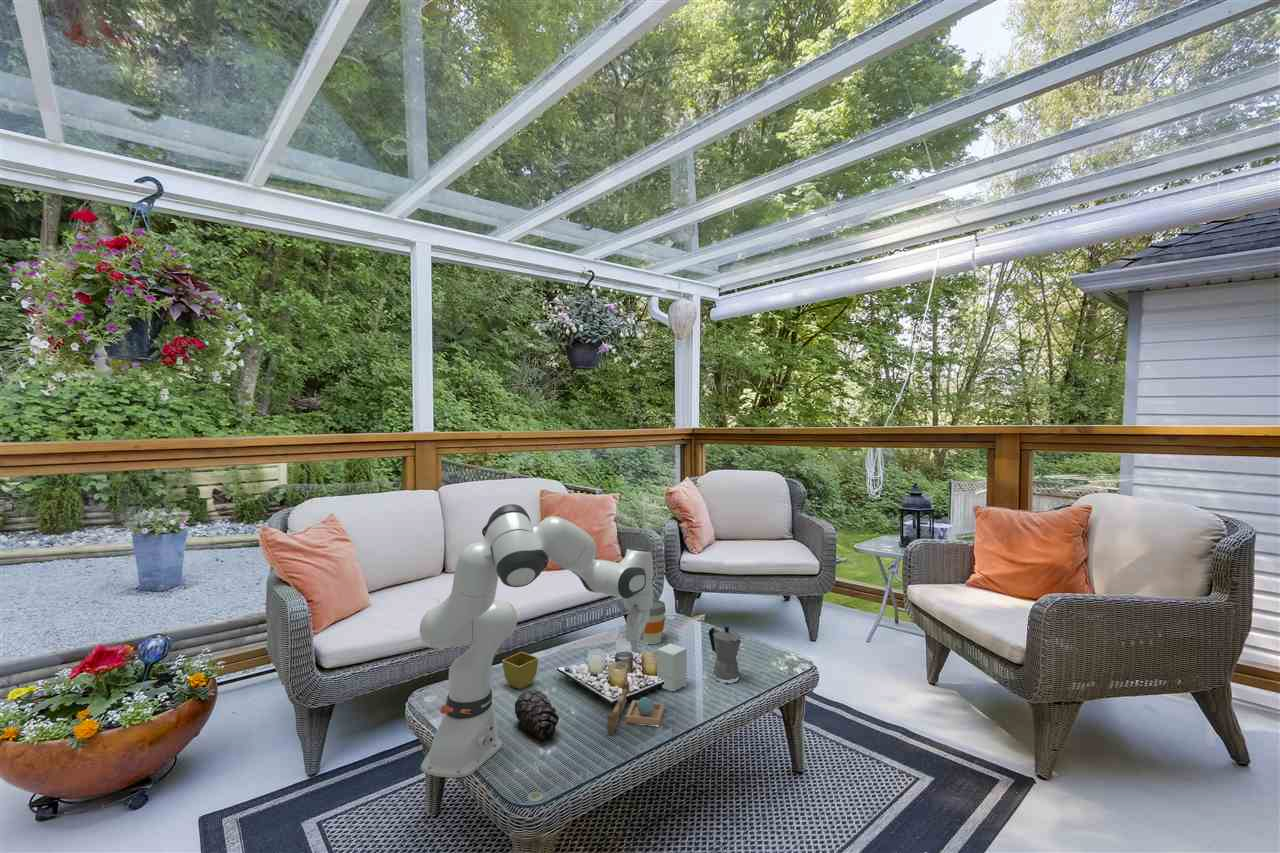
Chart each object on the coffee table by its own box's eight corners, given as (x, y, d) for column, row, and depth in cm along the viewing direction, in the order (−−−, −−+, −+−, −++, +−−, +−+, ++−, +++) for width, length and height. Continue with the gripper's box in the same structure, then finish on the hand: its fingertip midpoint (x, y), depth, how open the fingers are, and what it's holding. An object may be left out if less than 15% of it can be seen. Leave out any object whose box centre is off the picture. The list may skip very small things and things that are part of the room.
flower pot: (518, 694, 193) (519, 666, 192) (501, 686, 198) (501, 659, 198) (538, 684, 200) (539, 657, 199) (521, 677, 205) (521, 651, 205)
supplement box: (687, 685, 199) (687, 648, 199) (673, 693, 194) (673, 655, 194) (670, 678, 204) (670, 642, 204) (656, 685, 199) (656, 648, 199)
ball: (652, 719, 176) (652, 702, 176) (635, 717, 177) (636, 700, 177) (654, 711, 180) (655, 695, 181) (638, 709, 181) (639, 693, 181)
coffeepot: (749, 682, 202) (750, 629, 202) (730, 689, 197) (730, 635, 196) (718, 666, 215) (719, 617, 214) (699, 672, 209) (699, 622, 209)
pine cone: (540, 750, 161) (540, 713, 161) (507, 723, 174) (507, 690, 174) (571, 736, 168) (571, 701, 168) (538, 712, 181) (538, 679, 181)
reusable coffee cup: (631, 645, 233) (631, 608, 233) (637, 634, 245) (637, 598, 245) (663, 648, 231) (663, 610, 231) (667, 636, 243) (667, 600, 243)
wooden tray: (659, 727, 173) (659, 720, 173) (625, 723, 175) (625, 716, 175) (664, 710, 182) (664, 703, 182) (632, 707, 184) (632, 700, 184)
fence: (613, 735, 168) (613, 716, 168) (607, 734, 169) (607, 715, 168) (629, 699, 190) (629, 681, 189) (623, 698, 190) (623, 681, 190)
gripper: (642, 612, 170) (641, 660, 170) (654, 591, 190) (653, 633, 190) (620, 610, 171) (620, 658, 171) (634, 589, 191) (634, 632, 191)
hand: (637, 645), depth 181 cm, fingers open, 8 cm apart
